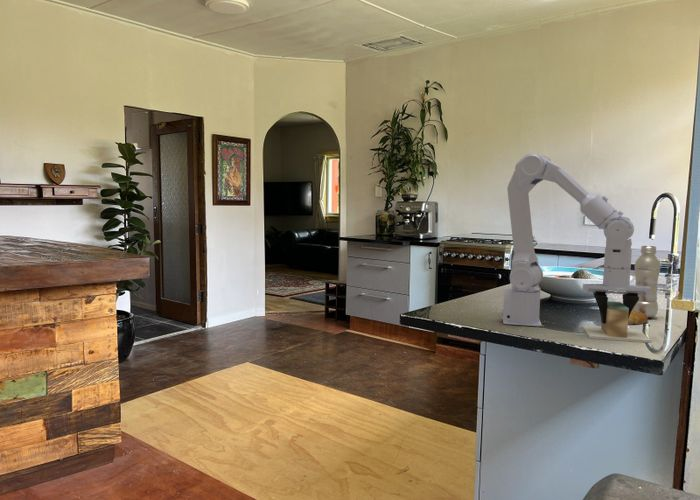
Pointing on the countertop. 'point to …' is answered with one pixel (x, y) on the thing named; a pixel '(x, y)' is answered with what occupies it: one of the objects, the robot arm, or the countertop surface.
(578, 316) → the countertop surface
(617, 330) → the tan green block
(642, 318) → the pastry
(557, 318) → the countertop surface
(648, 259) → the plastic bottle
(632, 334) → the mat
